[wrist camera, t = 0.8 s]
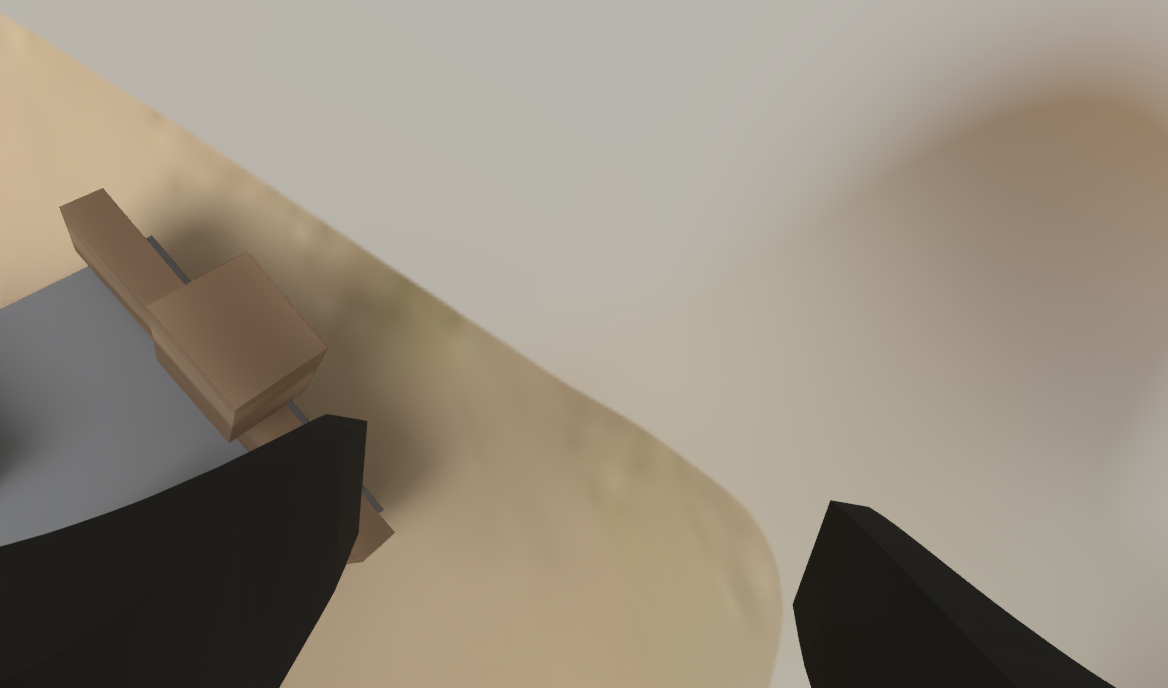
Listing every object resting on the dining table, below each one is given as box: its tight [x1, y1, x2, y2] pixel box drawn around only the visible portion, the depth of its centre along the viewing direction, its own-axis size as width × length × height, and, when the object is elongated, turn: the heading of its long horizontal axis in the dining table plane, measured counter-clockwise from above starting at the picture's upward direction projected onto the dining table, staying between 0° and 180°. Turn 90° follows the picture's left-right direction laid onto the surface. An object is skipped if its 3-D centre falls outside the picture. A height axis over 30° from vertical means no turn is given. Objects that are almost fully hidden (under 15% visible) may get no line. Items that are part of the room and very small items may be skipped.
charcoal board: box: [0, 236, 383, 546], centre depth 21 cm, size 12×12×2 cm
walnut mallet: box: [59, 188, 395, 564], centre depth 19 cm, size 2×13×8 cm, turn 44°
